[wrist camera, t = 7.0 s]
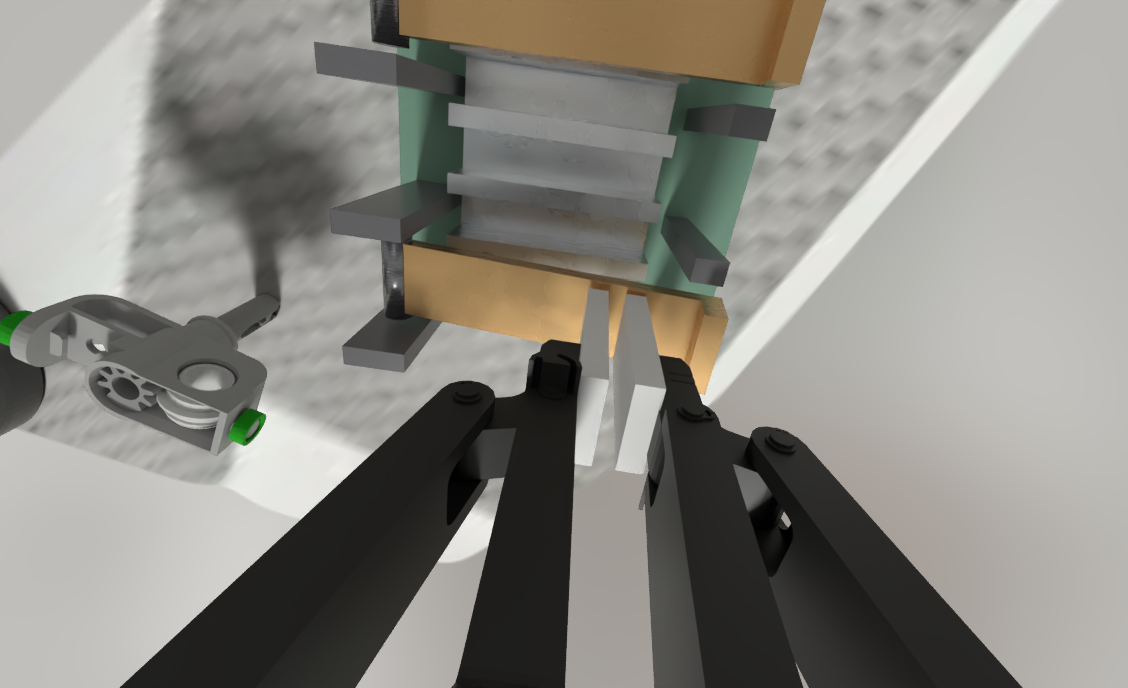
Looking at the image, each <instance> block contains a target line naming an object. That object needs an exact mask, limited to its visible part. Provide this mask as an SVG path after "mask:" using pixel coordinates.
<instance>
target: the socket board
mask: <svg viewBox="0 0 1128 688" xmlns="http://www.w3.org/2000/svg"><path fill="white" fill-rule="evenodd" d="M409 44H410V48H409V49H405V48H397V54H398V55H401V56H404V57H407V58H410V59H413V60H416V61H419V62H422V63H425V64H428V65H431V66H434V67H437V68H440V69H443V70H446V71H449V72H452V73H455V74H458V75H461V76H464V77H466V56H464V55H462V54H460V53H458V52H456V51H454V50H452V49H450V44H445V43H438V42H431V41H424V40H416V39H410V38H409ZM774 90H775V89H769V88H762V87H754V86H747V85H740V84H733V83H726V82H718V81H711V80H704V79H697V78H690V79H689V83H688V84H687V85H684V86H681V87H679V88H677V92H676V97H675V101H674V106H673V111H672V116H671V120H670V125H669V130H668V135H673V136H677V138H676V142H675V147H674V151H673V156H672V158H669V157H663V158H662V163H661V168H660V172H659V177H658V182H657V187H656V191H655V196H656V197H657V199H658V200H659V201H660V202H661V204H662V206H661V211H660V215H659V220H658V223H651V222H649V224H648V229H647V234H646V239H645V243H644V248H643V251H644V254H645V256H646V259H647V261H648V264H649V265H648V270H647V274H646V279H645V281H638V280H637V281H636V282H639V283H644V284H649V285H655V286H660V287H665V288H671V289H676V290H681V291H686V292H692V293H697V294H702V295H708V296H713V297H714V294H715V290H716V287H717V286H713V285H706V284H699V283H692V282H689V280H688V279H687V277H686V275H685V273H684V272H683V270H682V268H681V267H680V265H679V263H678V262H677V260H676V258H675V257H674V255H673V253H672V252H671V250H670V248H669V247H668V245H667V243H666V242H665V240H664V238H663V236H662V235H661V233H660V231H661V227H662V222H663V218H664V215H669V216H675V217H682V218H688V219H689V220H690V221H691V222H692V223H693V224H694V225H695V226H696V227H697V229H698V230H699V231H700V232H701V233H702V234H703V235H704V236H705V237H706V238H707V239H708V240H709V241H710V242H711V243H712V244H713V245H714V246H715V247H716V248H717V249H718V250H719V251H720V253H721V254H722V255H723V256H724V257H725V256H726V253H727V249H728V246H729V243H730V239H731V236H732V232H733V229H734V226H735V222H736V219H737V215H738V212H739V209H740V205H741V202H742V198H743V195H744V192H745V188H746V185H747V181H748V178H749V175H750V171H751V168H752V164H753V161H754V158H755V154H756V151H757V147H758V144H759V141H758V140H751V139H743V138H735V137H727V136H719V135H712V134H704V133H698V132H691V131H684V130H683V129H684V124H685V120H686V115H687V111H688V109H692V108H701V107H710V106H719V105H728V104H744V105H750V106H757V107H764V108H769V107H770V103H771V100H772V96H773V93H774ZM398 94H399V134H400V174H401V185H403V184H405V183H408V182H411V181H414V180H422V181H428V182H435V183H442V184H447V173H448V172H451V171H454V170H456V169H459V168H462V167H463V144H464V127H457V126H451V125H448V115H449V103H456V104H465V97H461V96H455V95H448V94H441V93H434V92H427V91H421V90H414V89H408V88H402V87H398ZM461 207H462V204H461V205H459V206H458V207H456V208H454V209H453V210H451V211H450V212H448V213H447V214H445V215H444V216H442V217H441V218H439V219H437V220H436V221H434V222H433V223H431V224H430V225H428V226H427V227H425V228H423V229H422V230H420V231H419V232H417V233H416V234H414V235H413V236H412V240H417V241H422V242H427V243H433V244H438V245H443V246H446V235H447V234H448V233H450V232H451V231H452V230H453V229H455V228H456V227H457V226H458V225H460V224H461Z"/></svg>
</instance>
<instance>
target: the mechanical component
mask: <svg viewBox="0 0 1128 688" xmlns="http://www.w3.org/2000/svg"><path fill="white" fill-rule="evenodd" d="M278 307H279V302H278V301H277V299H275V298H274V297H273V296H271V295H268V294H262V295H259V296H257V297H256V298H254V299H252V300H250V301H248V302H246V303H244V304H242V305H240V306H239V307H237V308H235V309H233V310H231V311H229V312H227V313H225V314H223V315H221V316H220V317H218V318H215V317H211V316H197V317H194V318H192V319H191V320H190V321H189V322H188V323H187V325H185V326H181V325H179V324H177V323H175V322H173V321H171V320H168V319H166V318H164V317H162V316H160V315H157V314H155V313H153V312H151V311H149V310H146V309H144V308H142V307H140V306H138V305H135V304H133V303H131V302H129V301H127V300H124V299H121V298H118V297H114V296H109V295H83V296H78V297H74V298H71V299H68V300H65V301H63V302H60V303H57V304H54V305H51V306H48V307H45V308H42V309H40V310H37V311H35V312H34V313H33V312H30V311H18V312H15V313H12V314H10V315H8V316H7V317H6V318H4V319H3V320H2V321H1V322H0V343H2V344H5V345H7V346H9V347H10V351H11V354H12V356H13V357H15V358H16V359H18V360H21V361H23V362H25V363H28V364H30V365H33V366H35V367H46V366H49V365H53V364H55V363H57V362H59V361H62V360H64V359H66V358H68V359H70V360H73V361H75V362H77V363H80V364H82V365H84V366H87V367H86V372H85V385H84V388H85V390H86V392H87V393H88V395H89V396H90V398H91V399H92V400H93V401H94V402H95V403H96V404H97V405H98V406H99V407H100V408H102V409H103V410H104V411H106V412H108V413H109V414H111V415H113V416H115V417H118V418H120V419H124V420H129V421H133V422H136V423H138V424H141V425H143V426H145V427H148V428H150V429H153V430H155V431H157V432H160V433H162V434H165V435H167V436H169V437H172V438H174V439H177V440H179V441H181V442H184V443H186V444H189V445H191V446H194V447H196V448H198V449H201V450H203V451H206V452H208V453H210V454H213V455H215V456H217V455H218V454H220V453H221V452H222V451H223V450H224V449H225V448H226V447H227V446H228V445H230V444H231V443H232V442H233V441H234V442H236V443H239V444H241V445H244V446H245V445H247V444H249V443H250V442H251V441H252V440H253V439H254V438H255V437H256V436H257V434H258V433H259V431H260V430H261V428H262V427H263V425H264V423H265V420H266V415H265V414H263V413H261V412H258V411H257V408H258V404H259V401H260V398H261V394H262V391H263V387H264V384H265V380H266V377H267V370H266V368H265V366H264V365H263V364H262V363H260V362H259V361H257V360H256V359H254V358H252V357H249V356H247V355H245V354H243V353H241V352H238V351H237V348H238V343H237V342H238V341H239V340H241V339H242V338H244V337H246V336H247V335H249V334H250V333H252V332H254V331H255V330H257V329H258V328H260V327H262V326H263V325H265V324H266V323H268V322H270V321H271V320H273V319H274V318H276V316H275V315H273V314H272V313H273V312H275V311H277V310H278ZM93 344H103V345H104V347H105V351H100V350H98V349H97V348H96V347H95V346H94V345H93ZM175 422H176V423H178V424H180V425H183V426H187V427H192V428H208V427H213V428H209V429H190V428H186V427H183V426H180V425H178V424H176V423H175ZM214 426H216V427H214Z"/></svg>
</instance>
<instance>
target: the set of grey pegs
mask: <svg viewBox="0 0 1128 688" xmlns="http://www.w3.org/2000/svg"><path fill="white" fill-rule="evenodd" d="M314 47H315V58H316V69H317V73H318V74H324V75H330V76H336V77H342V78H348V79H354V80H360V81H366V82H372V83H378V84H384V85H390V86H396V87H402V88H408V89H414V90H421V91H427V92H434V93H441V94H448V95H455V96H461V97H465V81H466V77H464V76H461V75H458V74H455V73H452V72H449V71H446V70H443V69H440V68H437V67H434V66H431V65H428V64H425V63H422V62H419V61H416V60H413V59H410V58H407V57H404V56H401V55H398V54H393V53H387V52H380V51H373V50H366V49H360V48H353V47H346V46H339V45H333V44H326V43H319V42H314ZM775 112H776V109H771V108H764V107H757V106H750V105H744V104H728V105H719V106H710V107H701V108H692V109H688V111H687V115H686V120H685V124H684V129H683V130H684V131H691V132H698V133H704V134H712V135H719V136H727V137H735V138H743V139H751V140H758V141H766V142H767V138H768V135H769V132H770V128H771V125H772V122H773V118H774V115H775ZM461 204H462V195H459V194H452V193H447V184H442V183H435V182H428V181H422V180H414V181H411V182H408V183H405V184H403V185H400V186H397V187H394V188H391V189H388V190H385V191H382V192H379V193H376V194H373V195H370V196H367V197H365V198H362V199H359V200H356V201H353V202H350V203H347V204H344V205H341V206H338V207H335V208H332V209H330V219H331V230H332V233H335V234H342V235H349V236H356V237H362V238H369V239H376V240H383V241H390V242H397V243H402V242H403V241H405V240H406V239H408V238H409V237H411V236H413V235H414V234H416V233H417V232H419V231H420V230H422V229H423V228H425V227H427V226H428V225H430V224H431V223H433V222H434V221H436V220H437V219H439V218H441V217H442V216H444V215H445V214H447V213H448V212H450V211H451V210H453V209H454V208H456V207H458V206H459V205H461ZM660 233H661V235H662V236H663V238H664V240H665V242H666V243H667V245H668V247H669V248H670V250H671V252H672V253H673V255H674V257H675V258H676V260H677V262H678V263H679V265H680V267H681V268H682V270H683V272H684V273H685V275H686V277H687V279H688V280H689V282H692V283H699V284H706V285H713V286H720V287H723V285H724V281H725V278H726V275H727V271H728V268H729V265H730V262H729V261H728V260H727V259H726V258H725V257H724V256H723V255H722V254H721V253H720V251H719V250H718V249H717V248H716V247H715V246H714V245H713V244H712V243H711V242H710V241H709V240H708V239H707V238H706V237H705V236H704V235H703V234H702V233H701V232H700V231H699V230H698V229H697V227H696V226H695V225H694V224H693V223H692V222H691V221H690V220H689V219H688V218H682V217H675V216H669V215H664V218H663V222H662V227H661V231H660ZM441 323H442V321H437V320H433V319H428V318H423V317H419V316H414V315H413V317H411V318H409V319H406V320H392V319H388V318H386V317H385V315H384V309H383V310H382V311H380V312H379V313H378V314H377V315H376V316H375V317H374V318H373V319H372V320H371V321H369V322H368V323H367V324H366V325H365V326H364V327H363V328H362V329H361V330H359V331H358V332H357V333H356V334H355V335H354V336H353V337H352V338H351V339H350V340H348V341H347V342H346V343H345V344H344V345H343V346H342V348H343V359H344V364H347V365H354V366H361V367H368V368H375V369H382V370H389V371H397V372H405V371H406V370H407V368H408V367H409V366H410V364H411V363H412V362H413V360H414V359H415V358H416V356H417V355H418V354H419V352H420V351H421V349H422V348H423V347H424V345H425V344H426V343H427V341H428V340H429V339H430V337H431V336H432V335H433V333H434V332H435V331H436V329H437V328H438V327H439V325H440V324H441Z"/></svg>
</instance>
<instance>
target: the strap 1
mask: <svg viewBox="0 0 1128 688" xmlns="http://www.w3.org/2000/svg"><path fill="white" fill-rule="evenodd" d="M825 2H826V0H370V11H371V33H372V42H373V43H377V44H381V45H386V46H391V47H397V48H405V49H409V48H410V44H409V38H410V39H416V40H424V41H431V42H438V43H445V44H452V45H460V46H467V47H474V48H481V49H488V50H495V51H503V52H510V53H517V54H524V55H531V56H539V57H546V58H553V59H560V60H567V61H575V62H582V63H589V64H596V65H603V66H611V67H618V68H625V69H632V70H639V71H647V72H654V73H661V74H668V75H675V76H683V77H690V78H697V79H704V80H711V81H718V82H726V83H733V84H740V85H747V86H754V87H762V88H769V89H776V90H779V89H783V88H787V87H791V86H795V85H799V84H800V81H801V78H802V75H803V72H804V69H805V66H806V62H807V59H808V56H809V53H810V50H811V46H812V43H813V40H814V37H815V34H816V31H817V27H818V24H819V21H820V18H821V15H822V11H823V8H824V5H825Z"/></svg>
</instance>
